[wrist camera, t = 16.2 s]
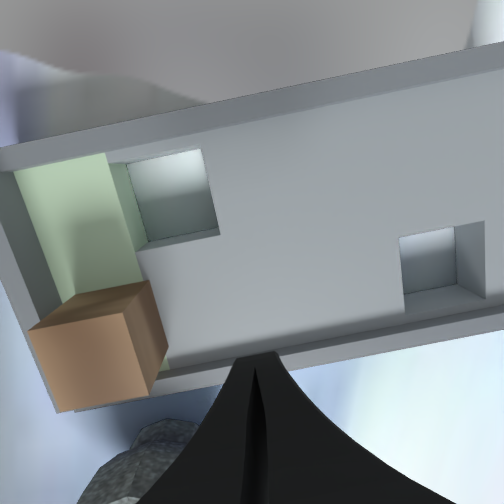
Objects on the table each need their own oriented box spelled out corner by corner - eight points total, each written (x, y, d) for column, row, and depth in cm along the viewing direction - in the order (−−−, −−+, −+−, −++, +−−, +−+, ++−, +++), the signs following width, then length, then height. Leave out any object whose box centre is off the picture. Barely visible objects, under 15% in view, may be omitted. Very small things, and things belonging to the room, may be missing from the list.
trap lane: (475, 60, 17) (555, 24, 13) (481, 301, 21) (545, 336, 16) (19, 156, 18) (-53, 152, 13) (100, 375, 21) (63, 429, 17)
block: (149, 279, 17) (122, 312, 13) (168, 346, 18) (148, 395, 14) (75, 294, 17) (26, 331, 13) (98, 360, 18) (60, 411, 14)
